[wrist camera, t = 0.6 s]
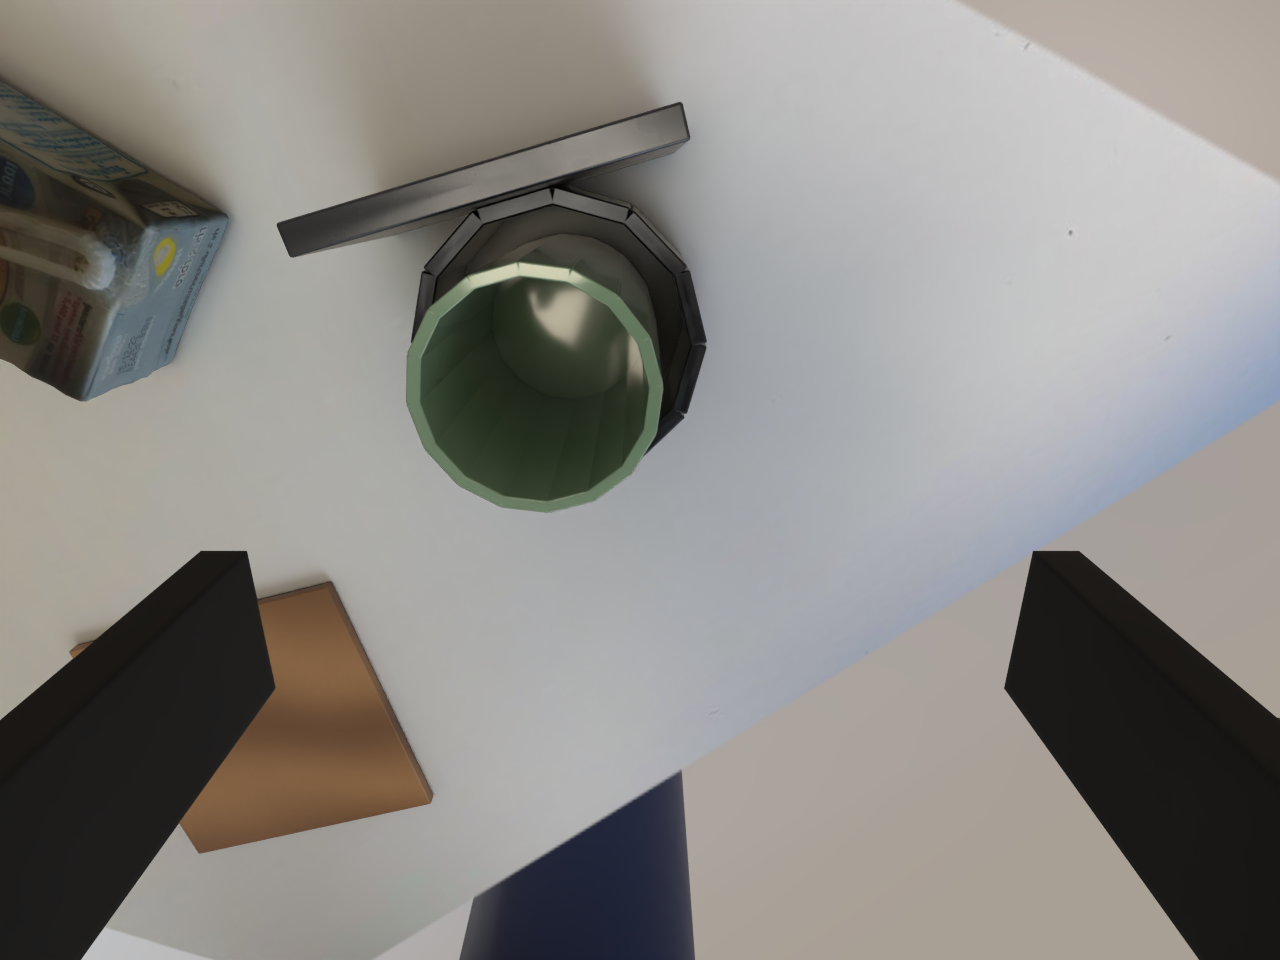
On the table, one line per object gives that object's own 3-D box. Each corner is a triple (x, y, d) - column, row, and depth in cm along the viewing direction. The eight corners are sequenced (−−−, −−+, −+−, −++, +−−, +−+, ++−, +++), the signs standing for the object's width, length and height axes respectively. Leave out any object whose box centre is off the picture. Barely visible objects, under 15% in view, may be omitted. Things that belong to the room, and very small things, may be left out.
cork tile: (433, 795, 42) (431, 804, 42) (204, 845, 44) (198, 854, 43) (331, 581, 37) (326, 587, 37) (76, 644, 39) (68, 651, 38)
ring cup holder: (733, 401, 34) (768, 485, 25) (479, 467, 35) (422, 571, 26) (669, 125, 30) (682, 101, 21) (384, 210, 31) (274, 223, 22)
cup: (672, 379, 34) (688, 478, 22) (517, 420, 34) (458, 536, 23) (628, 213, 31) (622, 231, 20) (462, 260, 32) (366, 304, 21)
